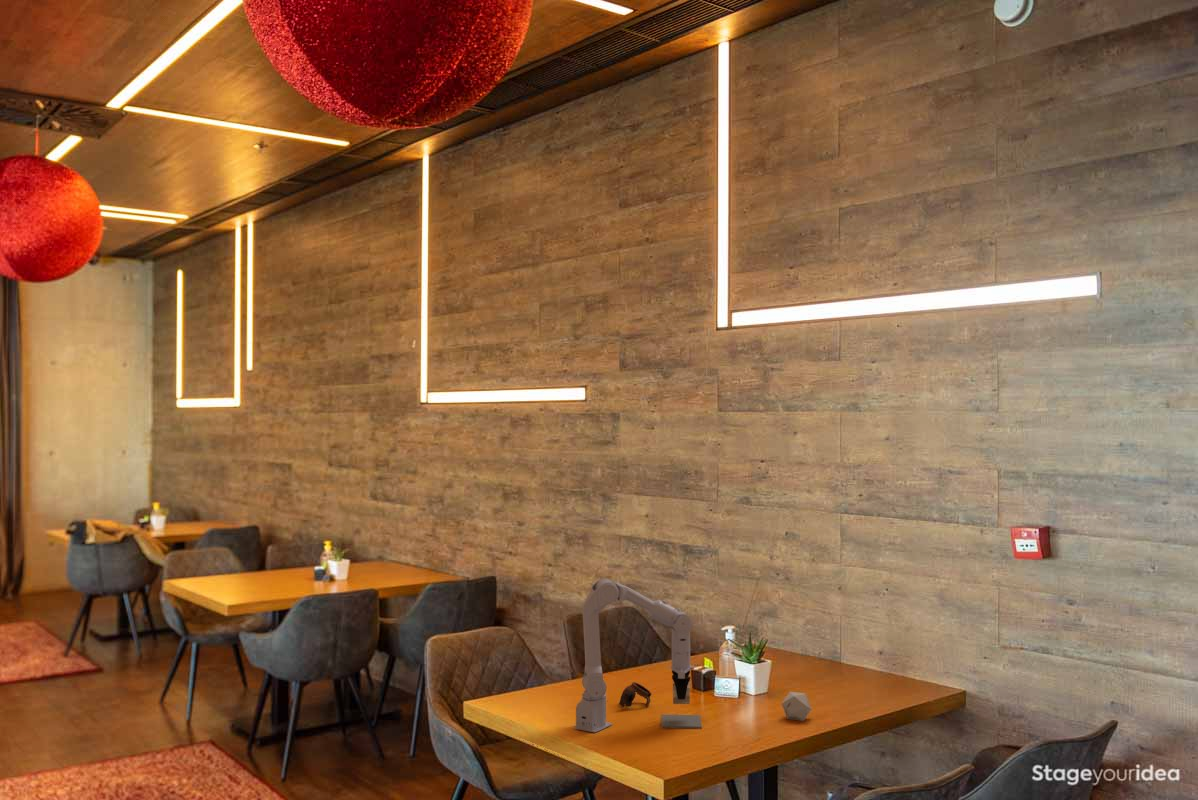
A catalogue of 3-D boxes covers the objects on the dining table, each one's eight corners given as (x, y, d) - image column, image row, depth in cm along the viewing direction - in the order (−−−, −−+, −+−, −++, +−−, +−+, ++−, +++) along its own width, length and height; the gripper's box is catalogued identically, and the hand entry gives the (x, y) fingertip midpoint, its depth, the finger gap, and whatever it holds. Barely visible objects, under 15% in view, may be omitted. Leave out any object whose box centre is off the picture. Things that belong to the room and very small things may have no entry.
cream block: (689, 704, 301) (689, 687, 301) (673, 703, 301) (673, 687, 301) (689, 699, 306) (689, 683, 306) (673, 699, 306) (672, 683, 306)
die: (780, 716, 311) (774, 696, 306) (800, 700, 314) (795, 680, 309) (797, 732, 305) (792, 712, 300) (818, 715, 307) (813, 695, 302)
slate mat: (701, 728, 297) (701, 726, 297) (661, 728, 297) (661, 726, 297) (700, 717, 309) (700, 715, 309) (661, 716, 309) (661, 714, 309)
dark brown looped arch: (622, 701, 328) (635, 680, 329) (645, 718, 324) (658, 696, 324) (609, 701, 317) (622, 678, 318) (633, 718, 313) (646, 695, 314)
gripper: (694, 657, 296) (695, 703, 296) (693, 646, 311) (693, 690, 310) (671, 657, 297) (671, 703, 296) (670, 646, 311) (671, 690, 311)
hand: (681, 696), depth 303 cm, fingers closed on cream block, 5 cm apart
